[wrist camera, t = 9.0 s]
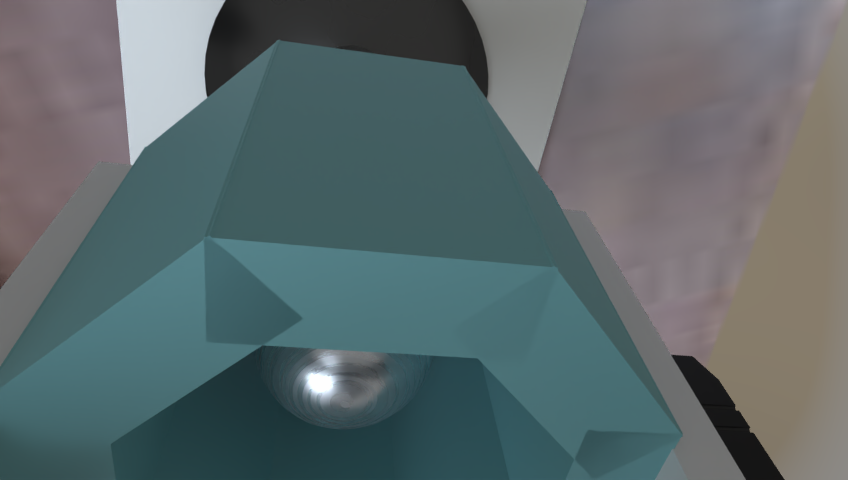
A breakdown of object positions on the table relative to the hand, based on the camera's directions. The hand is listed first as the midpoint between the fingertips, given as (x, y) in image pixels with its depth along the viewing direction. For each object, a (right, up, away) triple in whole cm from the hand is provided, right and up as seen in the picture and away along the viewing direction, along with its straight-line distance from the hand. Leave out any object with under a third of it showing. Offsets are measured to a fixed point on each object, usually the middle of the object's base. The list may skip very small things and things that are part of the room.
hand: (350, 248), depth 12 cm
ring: (0, 0, 0) cm, 0 cm away
